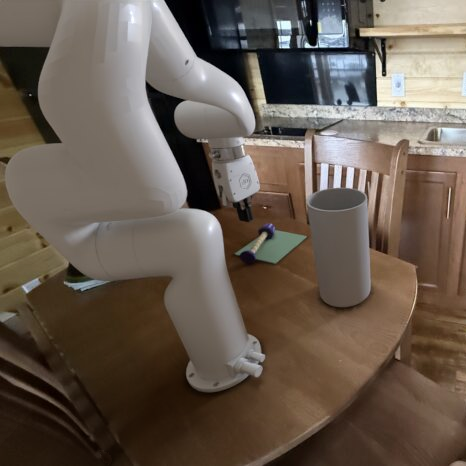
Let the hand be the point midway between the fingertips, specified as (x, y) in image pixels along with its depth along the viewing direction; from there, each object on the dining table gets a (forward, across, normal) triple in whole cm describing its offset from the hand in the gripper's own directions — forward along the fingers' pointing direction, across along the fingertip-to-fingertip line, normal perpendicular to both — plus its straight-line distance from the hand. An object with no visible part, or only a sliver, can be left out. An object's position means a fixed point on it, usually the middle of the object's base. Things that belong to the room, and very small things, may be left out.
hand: (246, 220), depth 84 cm
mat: (+12, +7, 0) cm, 14 cm away
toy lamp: (+10, -4, 0) cm, 11 cm away
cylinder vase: (+12, -5, -31) cm, 34 cm away
